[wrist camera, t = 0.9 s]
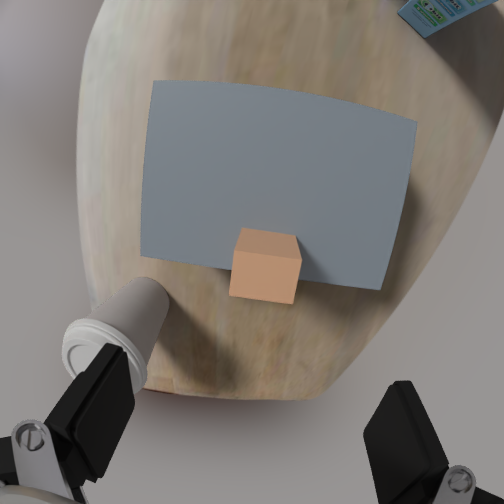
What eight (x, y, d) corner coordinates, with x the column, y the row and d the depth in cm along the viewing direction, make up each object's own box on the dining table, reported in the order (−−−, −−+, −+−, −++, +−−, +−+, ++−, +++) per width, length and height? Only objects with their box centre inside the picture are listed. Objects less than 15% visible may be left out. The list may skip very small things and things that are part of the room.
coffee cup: (150, 339, 40) (109, 415, 26) (103, 292, 38) (43, 355, 24) (195, 306, 38) (160, 388, 24) (143, 251, 35) (79, 312, 21)
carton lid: (157, 82, 20) (124, 66, 14) (413, 122, 19) (451, 118, 14) (144, 252, 24) (113, 281, 19) (377, 286, 24) (401, 321, 19)
